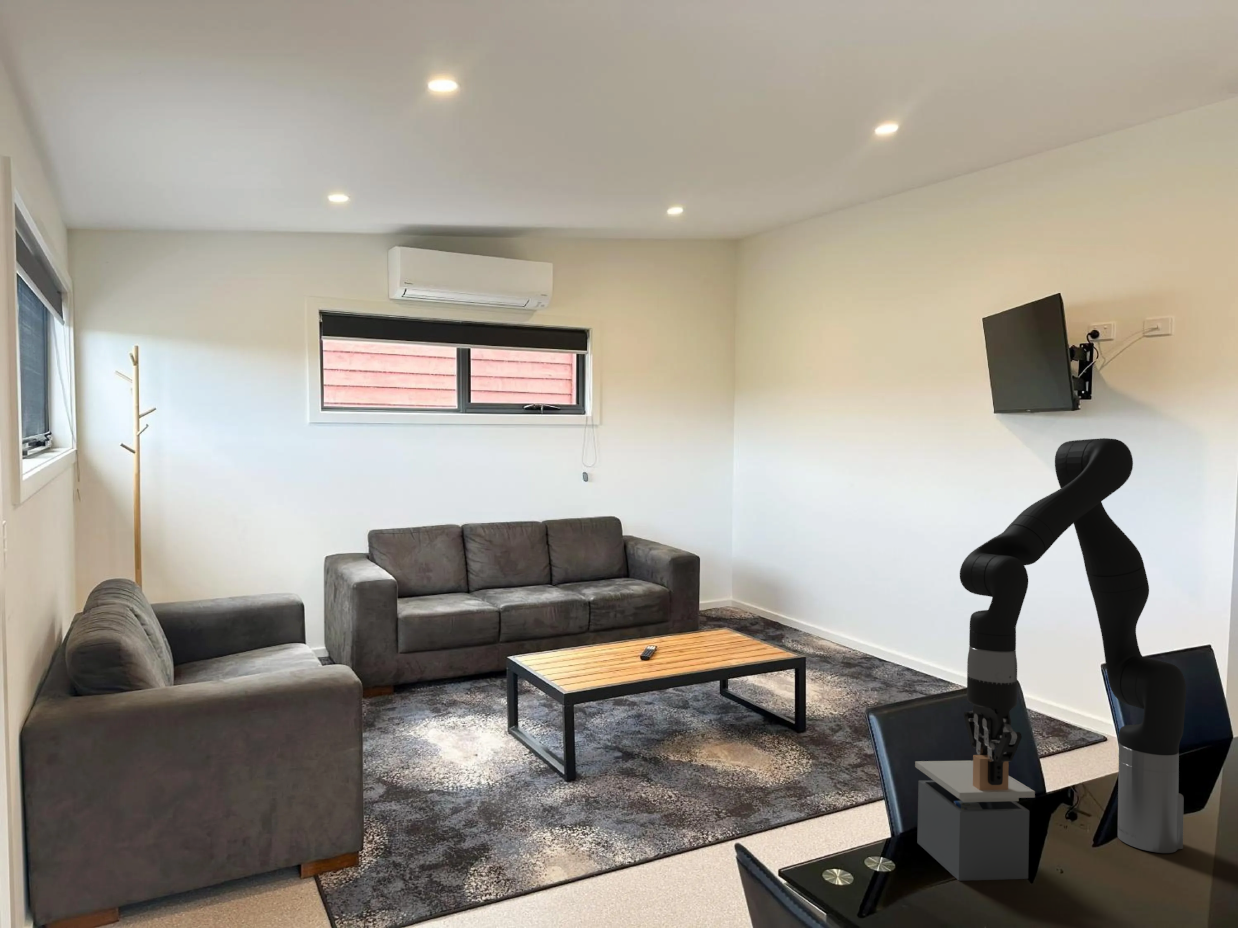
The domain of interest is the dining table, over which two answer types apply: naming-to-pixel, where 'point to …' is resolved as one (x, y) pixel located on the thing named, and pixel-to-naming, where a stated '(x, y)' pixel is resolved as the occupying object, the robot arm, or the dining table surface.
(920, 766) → the lid
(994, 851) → the tub
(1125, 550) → the robot arm
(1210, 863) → the dining table surface
